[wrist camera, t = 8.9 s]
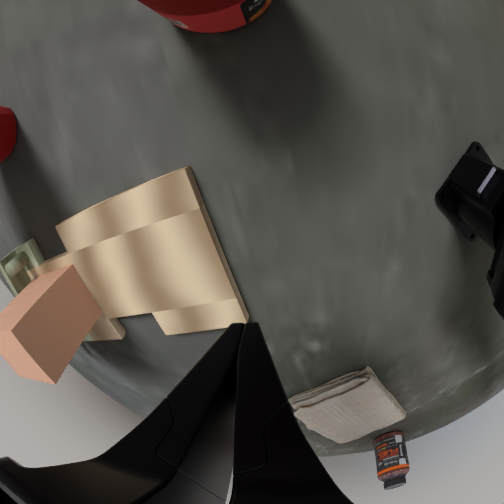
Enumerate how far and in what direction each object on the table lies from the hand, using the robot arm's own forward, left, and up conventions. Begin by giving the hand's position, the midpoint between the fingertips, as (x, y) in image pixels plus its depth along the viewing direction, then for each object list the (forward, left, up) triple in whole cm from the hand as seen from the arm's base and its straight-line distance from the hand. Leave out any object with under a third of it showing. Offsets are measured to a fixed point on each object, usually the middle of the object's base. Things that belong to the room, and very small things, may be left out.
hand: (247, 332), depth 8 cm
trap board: (+9, +15, -13) cm, 21 cm away
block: (+13, +20, -12) cm, 26 cm away
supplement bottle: (-44, +22, -13) cm, 51 cm away
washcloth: (-26, +17, -14) cm, 34 cm away
